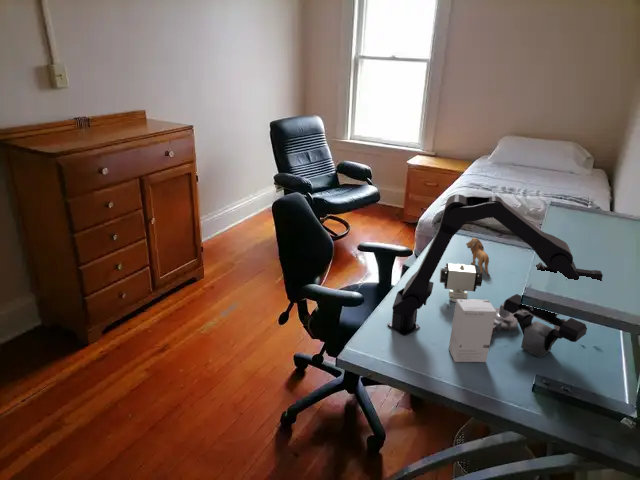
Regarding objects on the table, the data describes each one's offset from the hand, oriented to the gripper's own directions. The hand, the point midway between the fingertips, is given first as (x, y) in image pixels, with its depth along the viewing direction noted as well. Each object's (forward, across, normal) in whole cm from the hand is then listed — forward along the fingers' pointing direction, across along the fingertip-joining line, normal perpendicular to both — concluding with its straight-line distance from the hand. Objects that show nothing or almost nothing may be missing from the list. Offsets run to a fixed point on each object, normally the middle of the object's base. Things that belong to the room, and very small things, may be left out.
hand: (536, 344), depth 119 cm
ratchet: (+2, +12, +2) cm, 12 cm away
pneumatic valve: (+2, +28, -5) cm, 29 cm away
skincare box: (+2, +9, +16) cm, 18 cm away
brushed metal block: (+1, 0, 0) cm, 1 cm away
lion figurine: (+2, +37, -28) cm, 46 cm away
